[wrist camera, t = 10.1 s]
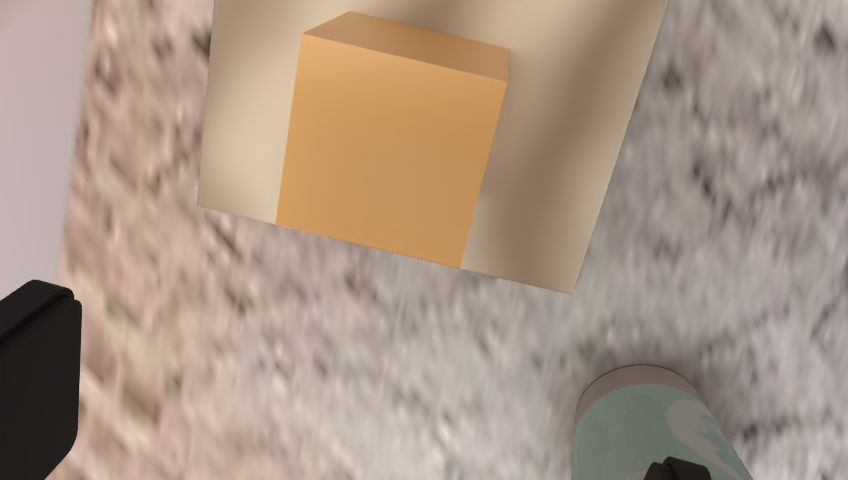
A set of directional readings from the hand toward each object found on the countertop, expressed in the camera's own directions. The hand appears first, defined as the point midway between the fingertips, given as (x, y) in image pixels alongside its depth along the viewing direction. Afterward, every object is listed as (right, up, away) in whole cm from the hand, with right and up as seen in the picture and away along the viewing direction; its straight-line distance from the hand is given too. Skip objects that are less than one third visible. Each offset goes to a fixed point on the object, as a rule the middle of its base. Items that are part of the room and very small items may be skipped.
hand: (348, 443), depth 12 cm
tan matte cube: (+1, +8, +16) cm, 18 cm away
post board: (+1, +9, +18) cm, 20 cm away
